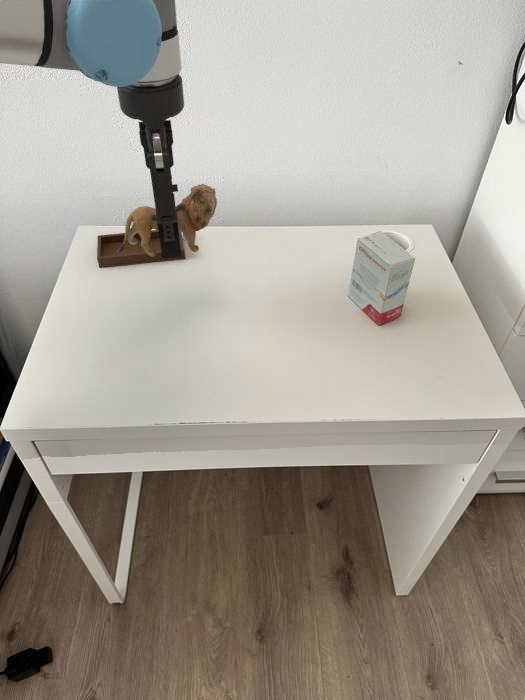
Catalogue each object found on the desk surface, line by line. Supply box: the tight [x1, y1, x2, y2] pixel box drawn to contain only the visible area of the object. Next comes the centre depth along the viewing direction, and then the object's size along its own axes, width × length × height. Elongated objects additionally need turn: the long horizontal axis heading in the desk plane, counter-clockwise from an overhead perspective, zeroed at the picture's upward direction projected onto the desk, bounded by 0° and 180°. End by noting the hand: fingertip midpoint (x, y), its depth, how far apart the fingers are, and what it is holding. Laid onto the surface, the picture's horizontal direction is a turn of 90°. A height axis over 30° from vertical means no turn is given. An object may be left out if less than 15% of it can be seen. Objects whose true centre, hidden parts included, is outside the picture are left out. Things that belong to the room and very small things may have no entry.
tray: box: [96, 229, 186, 269], centre depth 97 cm, size 15×7×2 cm, turn 101°
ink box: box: [347, 230, 416, 326], centre depth 84 cm, size 9×5×12 cm, turn 29°
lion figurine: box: [118, 183, 218, 257], centre depth 75 cm, size 15×5×9 cm, turn 109°
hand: (170, 245), depth 78 cm, fingers closed on lion figurine, 4 cm apart
